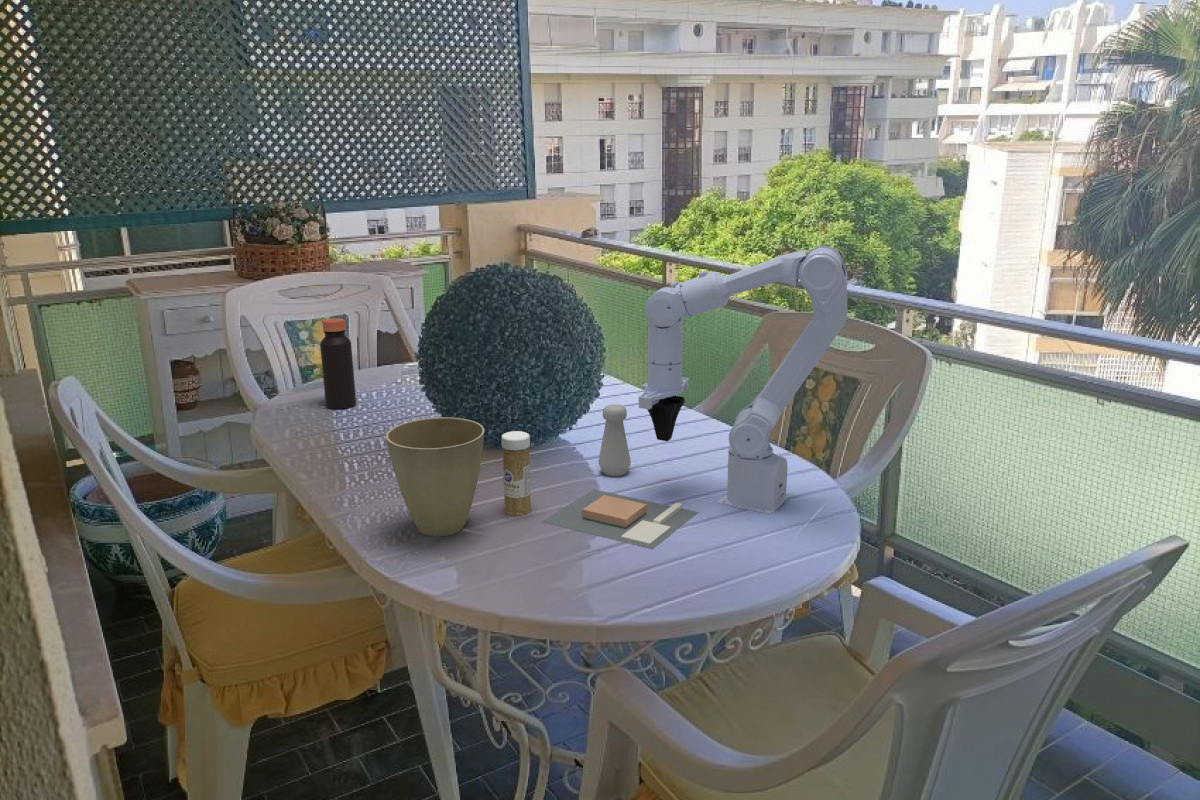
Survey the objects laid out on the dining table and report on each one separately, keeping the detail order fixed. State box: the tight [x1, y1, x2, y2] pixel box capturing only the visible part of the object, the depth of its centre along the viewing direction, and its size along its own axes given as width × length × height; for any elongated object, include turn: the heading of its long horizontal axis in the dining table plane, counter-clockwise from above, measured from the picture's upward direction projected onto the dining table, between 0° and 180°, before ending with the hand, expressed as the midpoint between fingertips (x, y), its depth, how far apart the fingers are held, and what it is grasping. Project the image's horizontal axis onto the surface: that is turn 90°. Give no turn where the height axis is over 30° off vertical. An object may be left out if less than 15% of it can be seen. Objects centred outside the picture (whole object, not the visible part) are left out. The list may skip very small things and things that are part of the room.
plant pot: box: [385, 417, 485, 537], centre depth 142 cm, size 15×15×16 cm
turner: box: [621, 502, 684, 545], centre depth 144 cm, size 15×5×1 cm, turn 149°
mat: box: [541, 489, 699, 550], centre depth 147 cm, size 20×16×1 cm
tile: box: [582, 495, 647, 528], centre depth 147 cm, size 8×2×7 cm
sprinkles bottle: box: [501, 430, 532, 516], centre depth 148 cm, size 5×5×14 cm
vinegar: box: [319, 317, 357, 410], centre depth 207 cm, size 7×7×20 cm
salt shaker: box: [598, 403, 632, 478], centre depth 164 cm, size 6×6×13 cm
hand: (664, 439), depth 154 cm, fingers closed
